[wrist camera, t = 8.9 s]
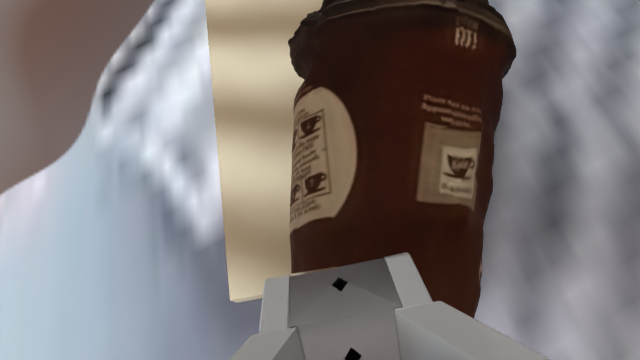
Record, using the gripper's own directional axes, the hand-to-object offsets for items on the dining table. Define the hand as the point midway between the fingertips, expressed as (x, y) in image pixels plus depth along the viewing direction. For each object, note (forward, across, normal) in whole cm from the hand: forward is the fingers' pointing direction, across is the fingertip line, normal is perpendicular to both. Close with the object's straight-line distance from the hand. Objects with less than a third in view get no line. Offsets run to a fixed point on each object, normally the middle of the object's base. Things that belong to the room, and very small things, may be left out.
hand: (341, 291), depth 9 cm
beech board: (+15, 0, 0) cm, 15 cm away
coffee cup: (+3, -1, +6) cm, 7 cm away
